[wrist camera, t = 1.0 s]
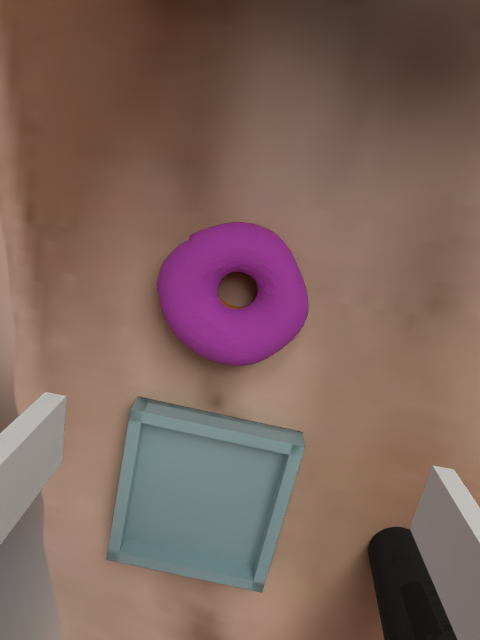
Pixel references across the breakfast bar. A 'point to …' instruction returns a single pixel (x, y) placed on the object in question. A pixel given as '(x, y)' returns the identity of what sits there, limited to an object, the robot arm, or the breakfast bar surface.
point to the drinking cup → (406, 589)
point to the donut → (221, 318)
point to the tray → (202, 493)
